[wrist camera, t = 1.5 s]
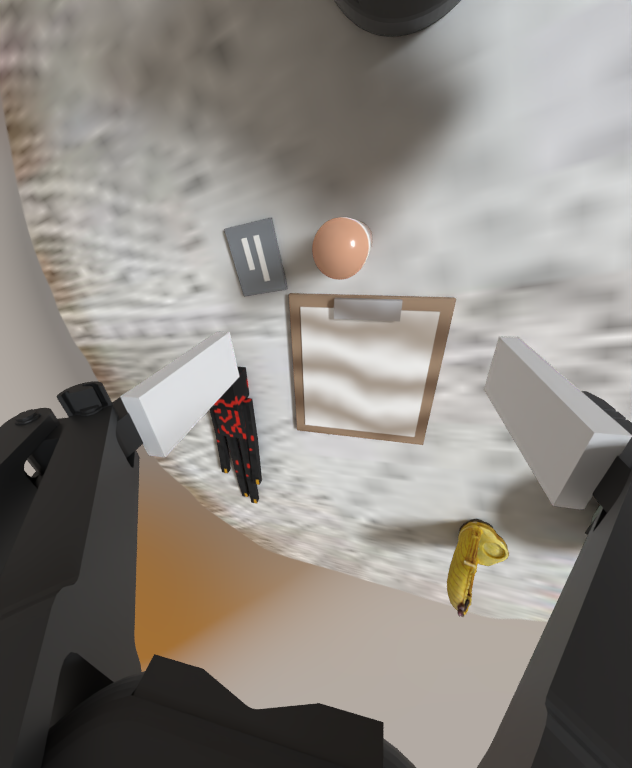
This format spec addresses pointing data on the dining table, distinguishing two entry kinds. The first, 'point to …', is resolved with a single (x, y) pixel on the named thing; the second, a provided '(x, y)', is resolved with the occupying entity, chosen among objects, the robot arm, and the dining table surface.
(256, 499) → the toy
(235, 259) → the grey striped tile
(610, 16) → the dining table surface
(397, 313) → the clipboard
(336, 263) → the pastel stick
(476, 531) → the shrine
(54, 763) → the robot arm
